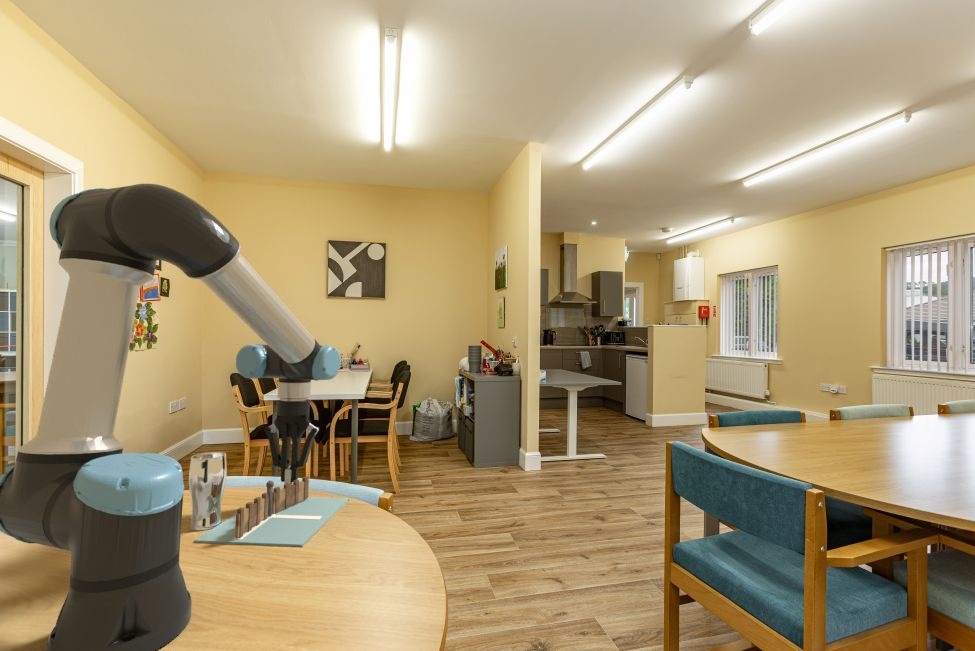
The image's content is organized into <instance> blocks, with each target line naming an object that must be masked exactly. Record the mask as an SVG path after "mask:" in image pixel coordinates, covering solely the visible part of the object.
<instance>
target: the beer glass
mask: <svg viewBox="0 0 975 651" xmlns="http://www.w3.org/2000/svg"><path fill="white" fill-rule="evenodd" d="M227 464H228V462H227V453H226V452H224V451H223V452H222V451H209V452H202V453H201V452H200V453H196V454H193V455H192V456H191V457H190V463H189V471H188V473H189V474H188V488H189V494H190V495H189V496H190V500H191V502H190V503H191V517H190V521H189V525H188V528H189V530H191V531H195V532H196V531H197V532H200V531H208V530H212V529H213V528H215V527H216V526H218V525H220V524H221V523H223V516H222V500H223V495H224V490H225V486H226V481H227V473H228V472H227V471H228V470H227V469H228V468H227Z"/></svg>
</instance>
